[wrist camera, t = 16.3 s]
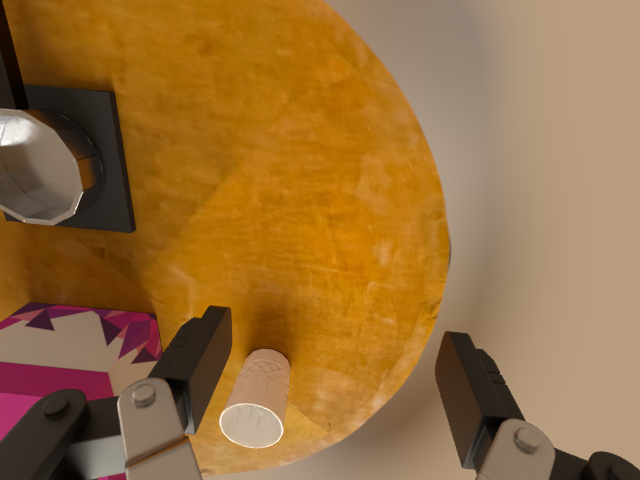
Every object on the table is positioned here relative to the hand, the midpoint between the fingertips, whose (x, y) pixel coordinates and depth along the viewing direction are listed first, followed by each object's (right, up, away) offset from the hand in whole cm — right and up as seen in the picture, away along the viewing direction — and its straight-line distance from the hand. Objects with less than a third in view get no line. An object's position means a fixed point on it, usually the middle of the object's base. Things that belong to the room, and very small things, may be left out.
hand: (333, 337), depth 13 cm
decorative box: (-33, -14, +40) cm, 54 cm away
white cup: (-8, -15, +38) cm, 42 cm away
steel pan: (-30, +17, +25) cm, 43 cm away
